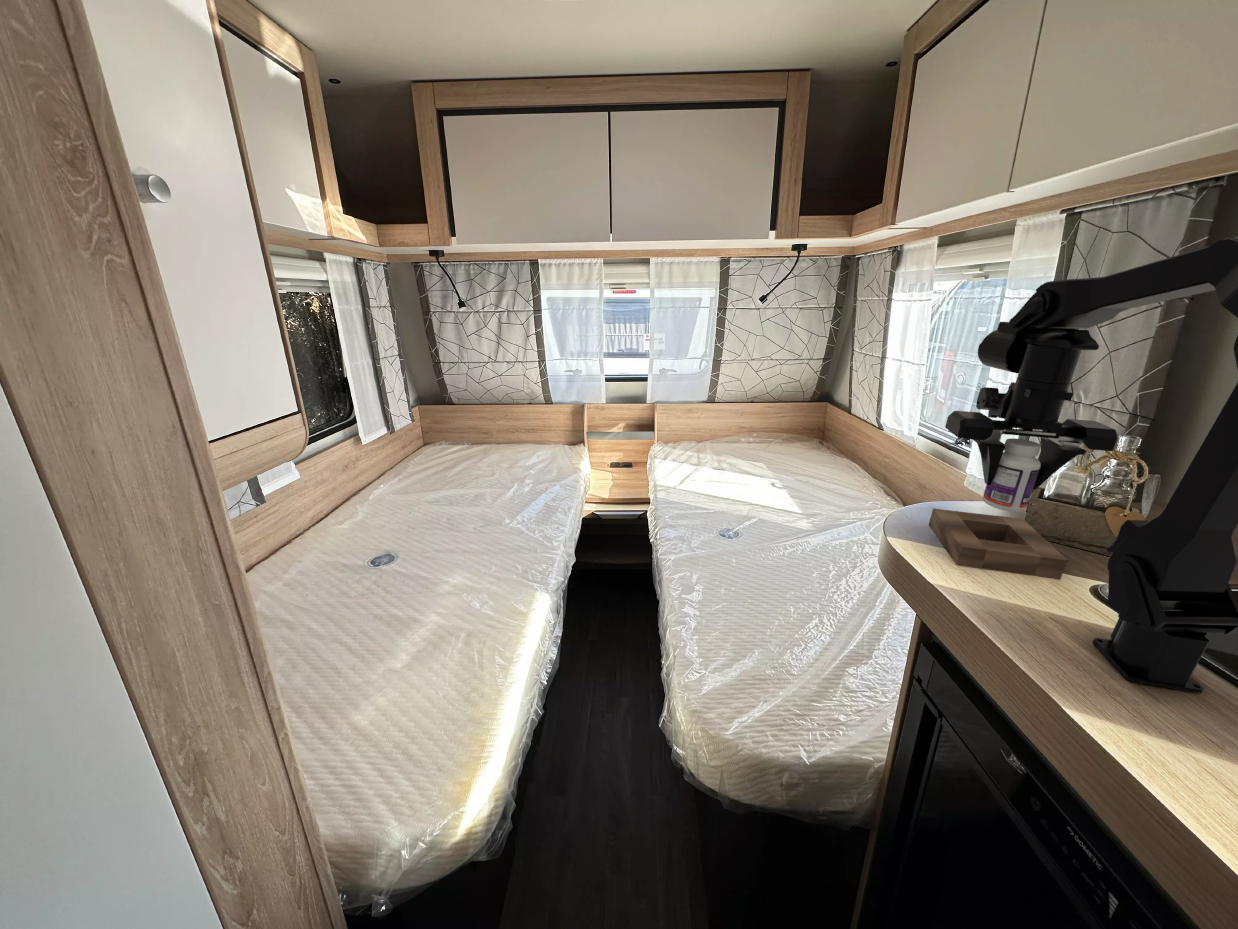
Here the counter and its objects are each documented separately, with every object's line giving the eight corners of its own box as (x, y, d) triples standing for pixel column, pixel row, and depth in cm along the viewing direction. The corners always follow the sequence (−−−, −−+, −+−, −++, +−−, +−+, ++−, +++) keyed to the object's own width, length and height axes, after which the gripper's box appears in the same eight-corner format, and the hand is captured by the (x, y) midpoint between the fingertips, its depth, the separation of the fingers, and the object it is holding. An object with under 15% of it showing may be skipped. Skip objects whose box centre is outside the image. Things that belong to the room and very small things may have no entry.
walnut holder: (1060, 578, 71) (1067, 560, 70) (956, 564, 74) (961, 546, 72) (1016, 535, 82) (1022, 518, 81) (928, 524, 85) (933, 508, 84)
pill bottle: (1011, 498, 77) (1031, 437, 74) (1034, 514, 72) (1057, 449, 69) (974, 496, 78) (992, 435, 74) (994, 511, 73) (1014, 447, 69)
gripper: (1088, 374, 74) (1053, 473, 79) (946, 366, 78) (922, 461, 84) (1141, 389, 64) (1097, 502, 69) (974, 379, 68) (945, 486, 73)
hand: (1009, 486), depth 74 cm, fingers closed on pill bottle, 5 cm apart
